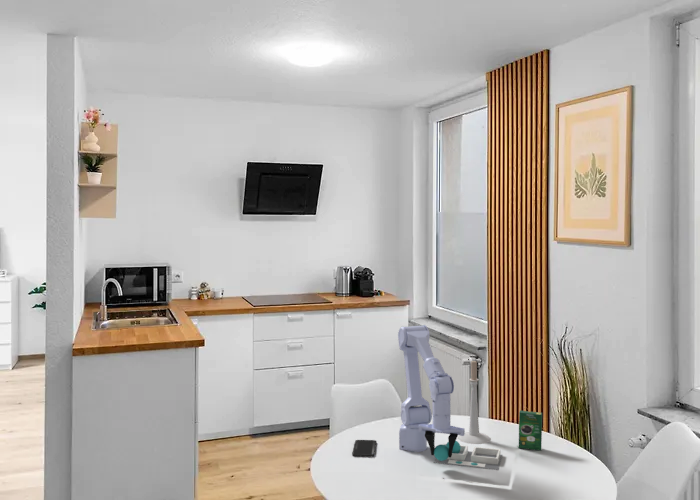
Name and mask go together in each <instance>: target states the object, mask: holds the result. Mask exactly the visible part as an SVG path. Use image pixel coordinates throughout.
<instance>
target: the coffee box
mask: <svg viewBox="0 0 700 500" xmlns="http://www.w3.org/2000/svg"><path fill="white" fill-rule="evenodd" d="M518 415H519V416H518V449H522V450H532V451H539V452H540V451H542V439H543V438H542V436H543V412H537V411H527V410H519V414H518Z"/></svg>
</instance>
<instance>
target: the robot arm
mask: <svg viewBox="0 0 700 500" xmlns="http://www.w3.org/2000/svg"><path fill="white" fill-rule="evenodd" d="M397 333H398V334H397V338H398V340H397V341H398V347H399V350H400V351H403V352H402V353H403V359H404V360H403V361H404V369H405V379H406V389H407V390H406V391H407V398H406V399H405V400H404V401H403V402H402V403H401V404H400V405H401V406H400V407H401V408H400V409H401V411H400V420H401V423H402V424H400V427H399V432H398V435H399V436H398V445H399V447H398V448H399V450H403V451H404V450H405V451H410V452H424V451H426V450H427V449H428V447H427V445H428V446H429V449H430V453H431V454H430V455H431V456H434V449H435V447H436V446H435V438H436V435H435V434H436V433H437V434H447V435H449V436H448V437H447V438H448V442H449V457H451V456H452V451H453V447H454V444H455V441H457V440H458V436H459V435H460V436H464V434H465V433H466V431H465V428H464V427H458V426H453V425H451V394H453V392H454V390H455V385H454V383H455V382H454V380H453V377H452V376H451V375H449V374H448V373H447V372H445V370H444V368H443V365H442V364H441V361H440V360H439V359H438V358H437V357H435V356H434V353H433V351H432V347H431V345H430V336H431V335H430V330H429V328H428V326H427V325H426V324H423V325H412V326H411V325H410V326H403V325H402V326H401V327H400V328H399V330H398V332H397ZM418 353H419V355H420V357H421V358H422V361H423V366H422V367H423V368H422V369H424V372H425V375H426V376H427V378H428V381H429V383H428V387H429V392H430V399H431V401H432V410H431V406H430V402H429V401H428V400H426V399H425V398H424V397H423V393H422V385H421V384H422V383H421V376H420V375H421V374H420V365H419V355H418ZM430 423H431V424H430Z"/></svg>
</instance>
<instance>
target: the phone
mask: <svg viewBox="0 0 700 500" xmlns="http://www.w3.org/2000/svg"><path fill="white" fill-rule="evenodd" d="M376 449H377V440H375V439H357V440H356V439H355V442H354V444H353V450H352V452H351V455H352V457H353V458H355V457H357V458H374V457H375V454H376Z"/></svg>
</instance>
